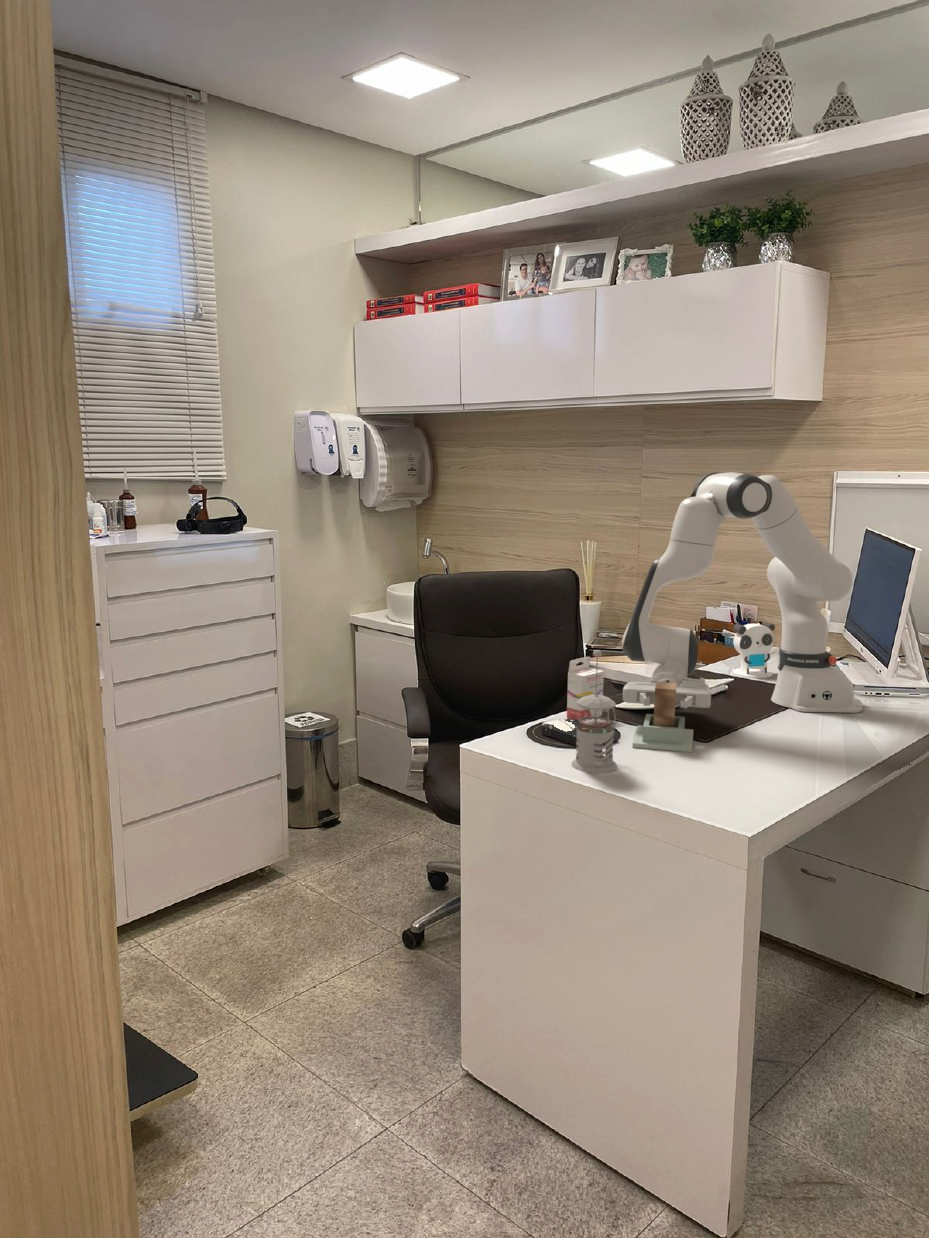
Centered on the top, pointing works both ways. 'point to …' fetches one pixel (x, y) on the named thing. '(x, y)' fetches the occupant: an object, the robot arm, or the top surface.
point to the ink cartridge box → (582, 687)
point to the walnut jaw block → (665, 704)
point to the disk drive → (568, 732)
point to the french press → (595, 734)
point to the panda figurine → (753, 649)
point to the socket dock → (663, 736)
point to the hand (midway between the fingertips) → (665, 703)
